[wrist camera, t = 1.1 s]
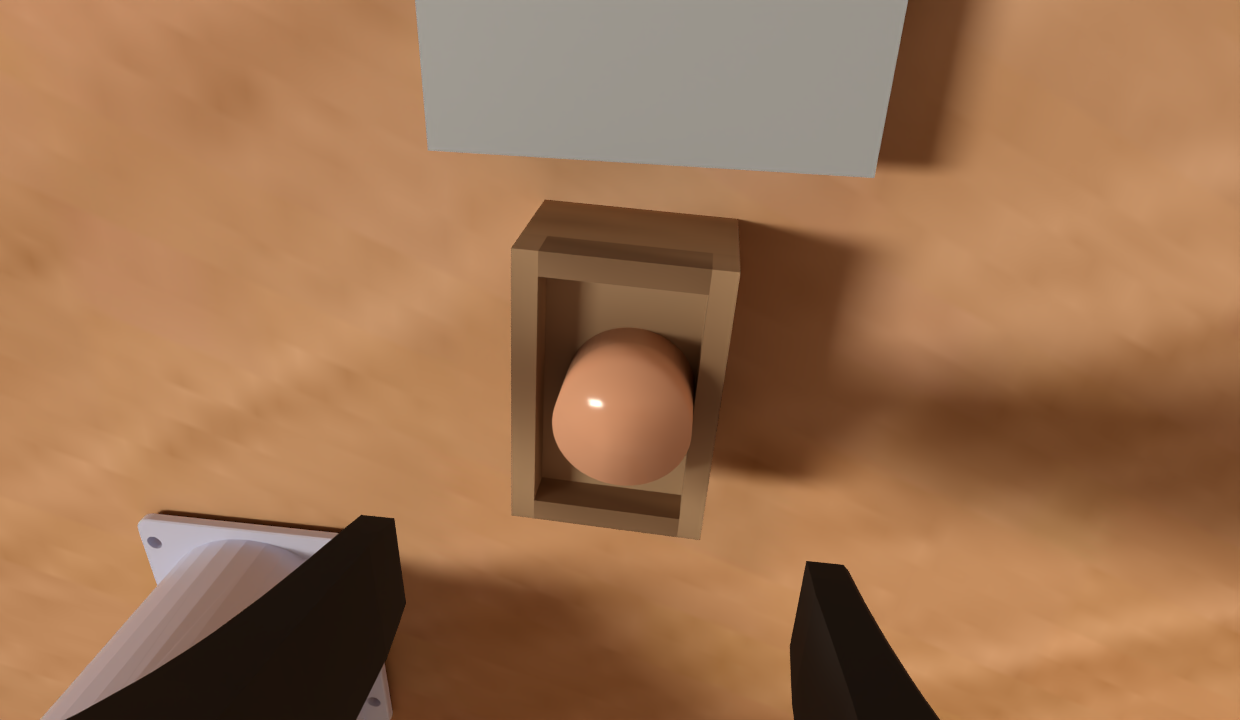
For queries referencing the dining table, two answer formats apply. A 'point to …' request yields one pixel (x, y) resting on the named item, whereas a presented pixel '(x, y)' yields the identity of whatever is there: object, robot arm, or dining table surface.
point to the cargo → (625, 407)
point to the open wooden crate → (608, 299)
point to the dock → (663, 80)
